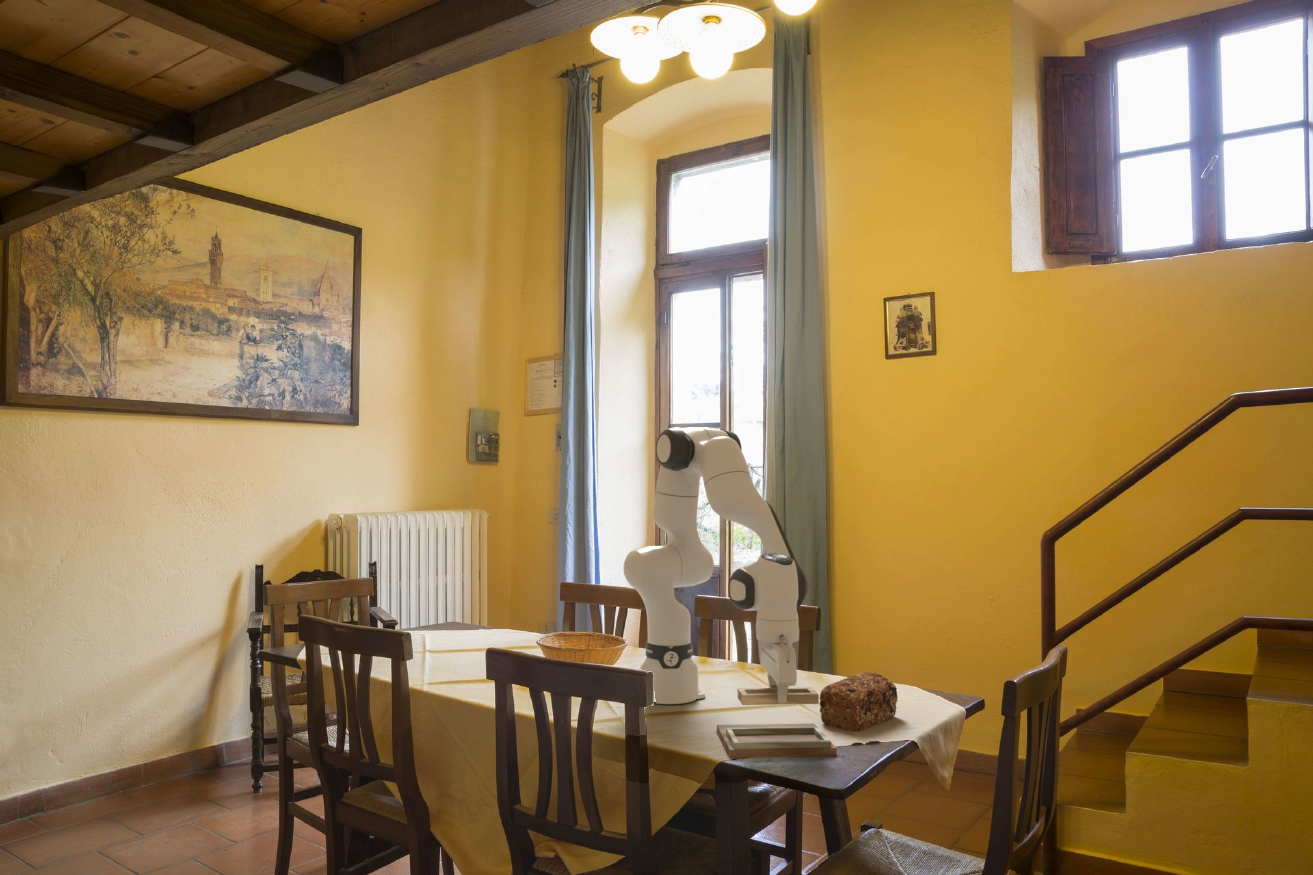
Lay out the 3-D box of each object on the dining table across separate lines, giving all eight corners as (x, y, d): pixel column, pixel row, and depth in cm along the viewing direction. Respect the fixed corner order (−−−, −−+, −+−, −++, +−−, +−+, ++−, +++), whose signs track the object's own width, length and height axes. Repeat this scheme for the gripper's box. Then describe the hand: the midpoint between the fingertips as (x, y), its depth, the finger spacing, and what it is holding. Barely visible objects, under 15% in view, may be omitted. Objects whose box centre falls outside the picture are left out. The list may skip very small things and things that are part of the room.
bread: (860, 709, 215) (860, 668, 216) (900, 718, 208) (899, 675, 208) (817, 724, 202) (817, 680, 202) (857, 733, 194) (857, 688, 195)
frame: (737, 698, 186) (737, 688, 186) (811, 696, 188) (811, 687, 188) (742, 705, 180) (742, 695, 180) (818, 703, 182) (818, 694, 182)
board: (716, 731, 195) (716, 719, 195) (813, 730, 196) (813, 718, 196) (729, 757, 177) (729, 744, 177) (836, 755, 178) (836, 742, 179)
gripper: (804, 640, 175) (804, 710, 174) (781, 623, 195) (781, 686, 194) (773, 640, 174) (773, 711, 173) (753, 624, 194) (753, 687, 194)
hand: (777, 698), depth 184 cm, fingers closed on frame, 6 cm apart
